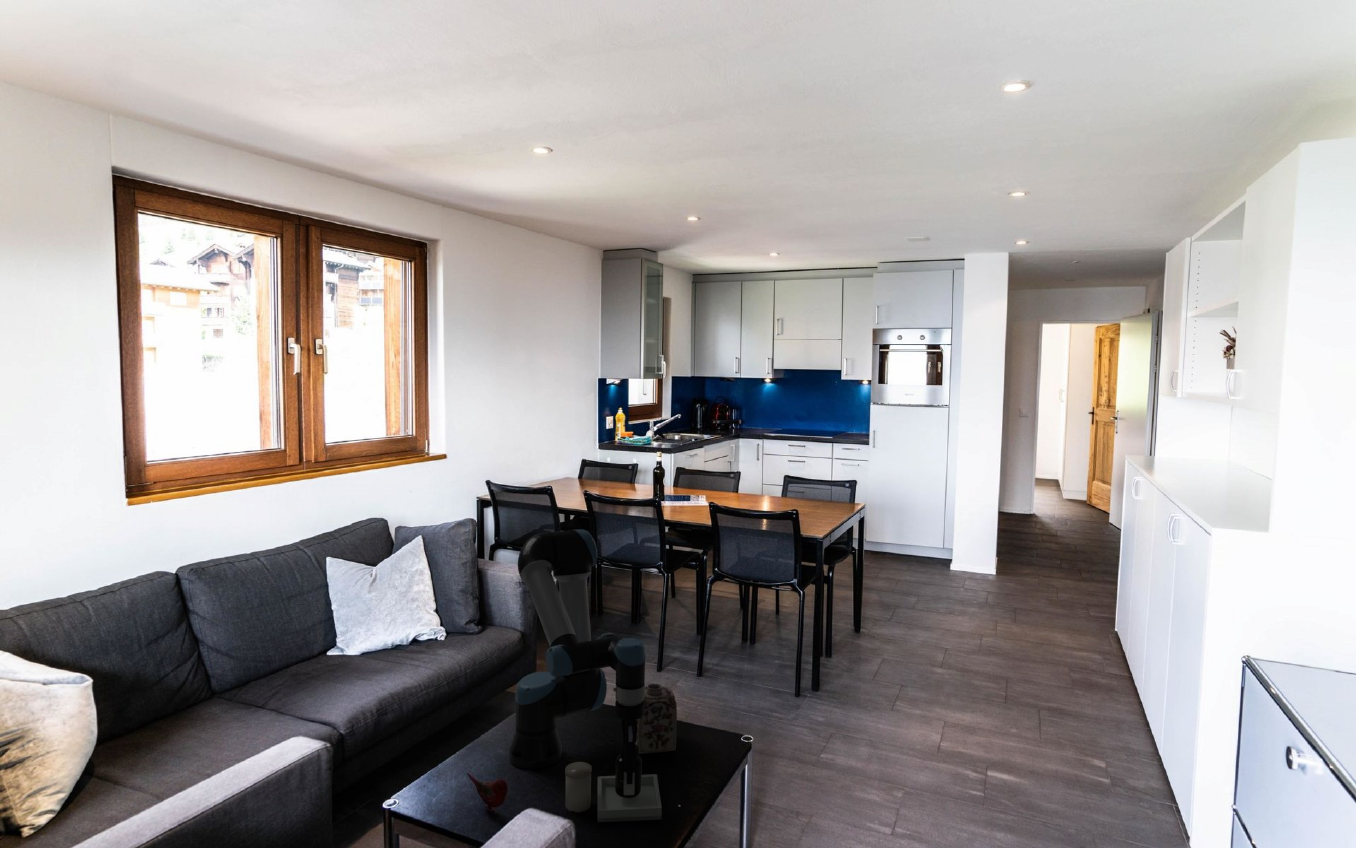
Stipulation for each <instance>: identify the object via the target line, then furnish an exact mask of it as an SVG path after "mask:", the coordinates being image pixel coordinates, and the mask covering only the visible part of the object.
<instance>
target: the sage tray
mask: <svg viewBox="0 0 1356 848" xmlns="http://www.w3.org/2000/svg"><path fill="white" fill-rule="evenodd" d="M658 781H659V780H658V774H656V773H654V774H652V773H651V774H642V776H641V792H640V793H639V795H637V796H636V797H633V798H623V797H620V796H618V795H617V794H616V792H615V775H607V776H606V775H603V776H597V823H611V822H614V823H615V822H632V821H633V822H637V821H657V820H658V821H660V820H662V816H663V815H662V812H663V811H662V808H663V807H662V800H661V796H660V789H659V788H660V787H659V782H658Z"/></svg>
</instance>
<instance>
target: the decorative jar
mask: <svg viewBox="0 0 1356 848" xmlns="http://www.w3.org/2000/svg"><path fill="white" fill-rule="evenodd" d="M675 696H676V695H675V693H674V692H673V689H670V688H668V687H665V686H662V685H661V684H659V683H650V684H648V685H647V686H646V685H645V698H644V715H643V716H642V717H641V718H640V719H637V732H636V742H635V744H636V745H637V746H638V747H639V755H645V754H646V755H647V754H655V753H656V754H657V753H665V752H666V753H667V752H674V751H676V749H677V734H678V733H677V729H678V727H677V726H678V725H677V723H678V722H677V721H678V719H677V718H678V705H677V700H676V697H675Z"/></svg>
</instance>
